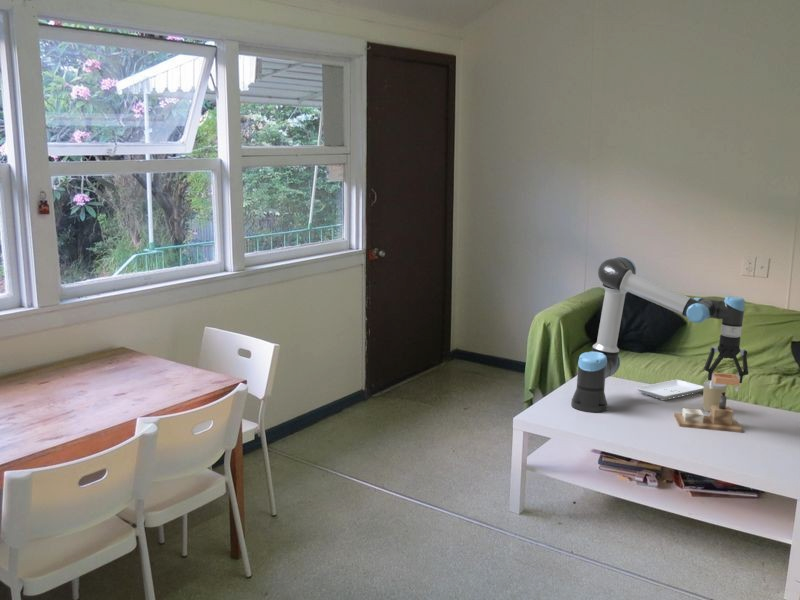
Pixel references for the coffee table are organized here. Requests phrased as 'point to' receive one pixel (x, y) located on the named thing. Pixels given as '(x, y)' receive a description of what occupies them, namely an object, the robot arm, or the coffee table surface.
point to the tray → (678, 385)
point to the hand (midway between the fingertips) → (723, 389)
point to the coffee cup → (712, 394)
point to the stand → (710, 418)
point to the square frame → (726, 379)
